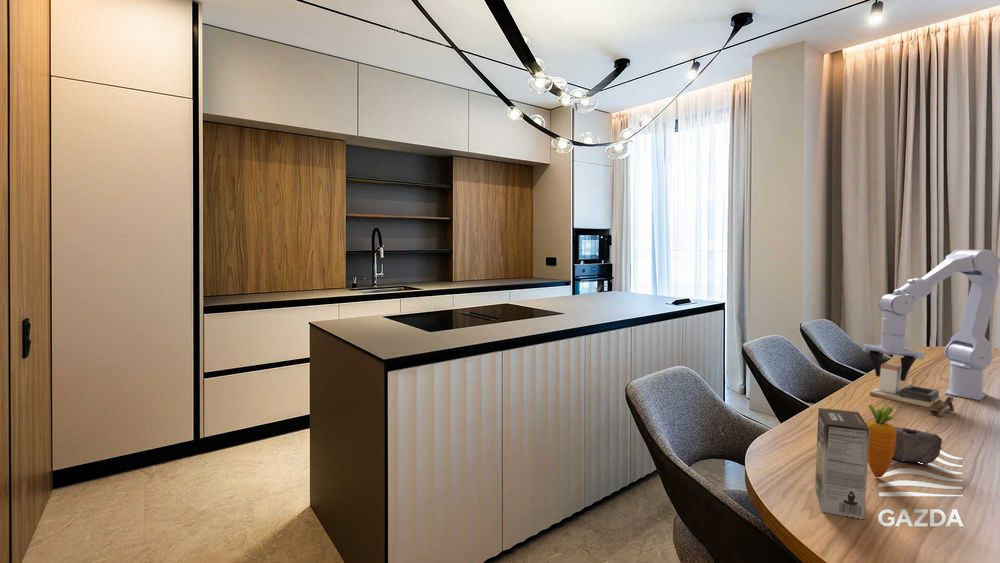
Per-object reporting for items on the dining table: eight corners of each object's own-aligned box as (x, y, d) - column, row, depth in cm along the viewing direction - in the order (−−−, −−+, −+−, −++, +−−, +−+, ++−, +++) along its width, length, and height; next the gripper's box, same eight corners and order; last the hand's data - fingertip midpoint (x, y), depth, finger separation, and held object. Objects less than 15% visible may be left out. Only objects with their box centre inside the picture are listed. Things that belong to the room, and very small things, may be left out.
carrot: (855, 473, 100) (859, 400, 98) (878, 471, 100) (882, 400, 99) (876, 485, 95) (880, 409, 94) (900, 483, 95) (905, 408, 94)
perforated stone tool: (849, 451, 110) (851, 421, 109) (854, 444, 114) (855, 415, 113) (939, 473, 99) (941, 440, 99) (941, 464, 103) (943, 432, 103)
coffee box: (813, 488, 94) (817, 406, 92) (853, 495, 91) (858, 411, 90) (821, 512, 85) (826, 422, 84) (866, 521, 83) (871, 428, 81)
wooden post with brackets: (959, 409, 134) (955, 395, 133) (941, 425, 132) (937, 410, 131) (951, 407, 135) (947, 393, 135) (933, 422, 133) (929, 408, 132)
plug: (884, 387, 153) (886, 362, 152) (900, 390, 150) (902, 364, 149) (878, 390, 150) (880, 364, 149) (895, 393, 147) (897, 367, 146)
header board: (881, 388, 156) (882, 379, 156) (939, 399, 145) (940, 389, 145) (869, 394, 150) (870, 385, 149) (929, 407, 138) (929, 396, 138)
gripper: (859, 332, 152) (857, 375, 153) (919, 339, 140) (917, 385, 141) (868, 329, 156) (865, 371, 157) (926, 336, 145) (924, 381, 146)
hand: (890, 377), depth 150 cm, fingers open, 5 cm apart
